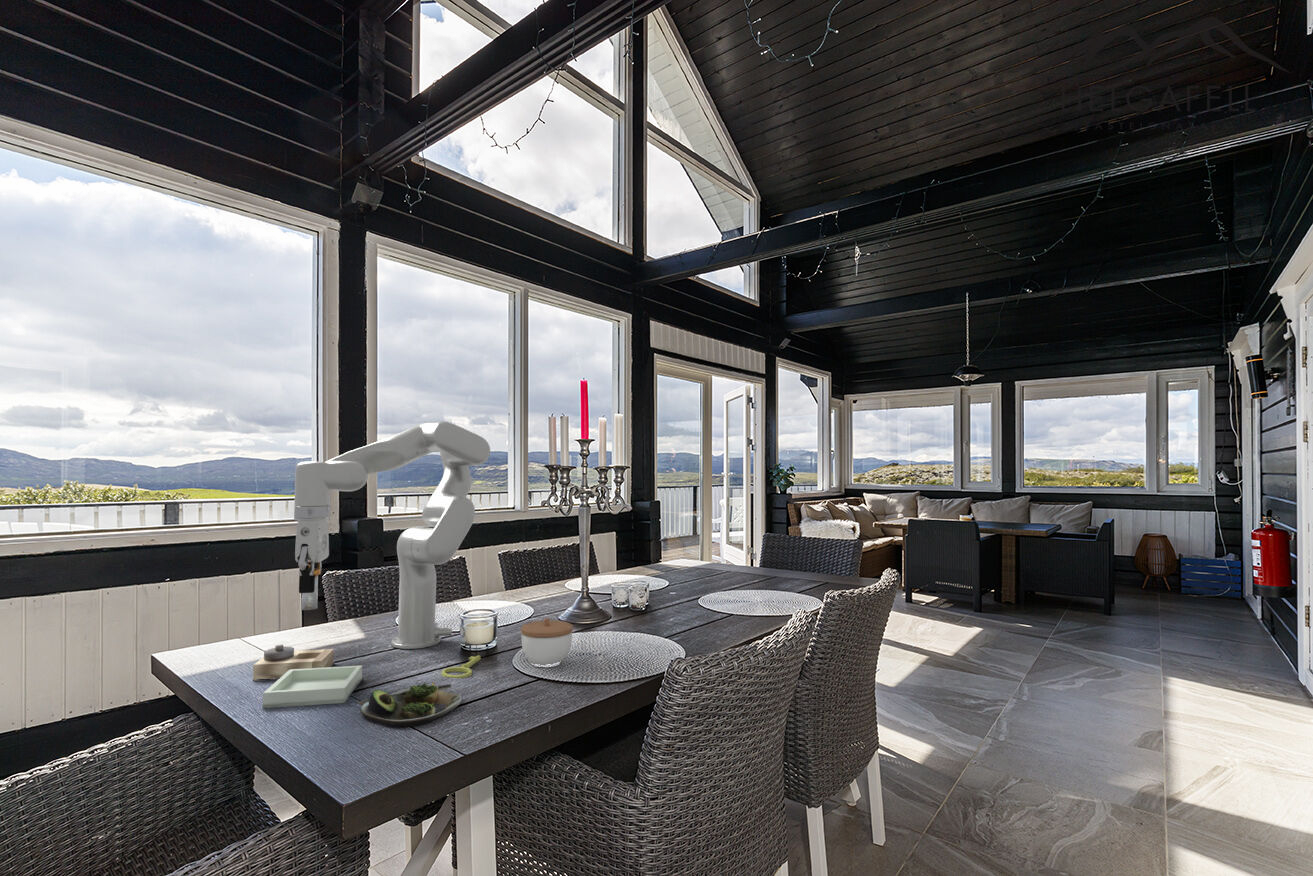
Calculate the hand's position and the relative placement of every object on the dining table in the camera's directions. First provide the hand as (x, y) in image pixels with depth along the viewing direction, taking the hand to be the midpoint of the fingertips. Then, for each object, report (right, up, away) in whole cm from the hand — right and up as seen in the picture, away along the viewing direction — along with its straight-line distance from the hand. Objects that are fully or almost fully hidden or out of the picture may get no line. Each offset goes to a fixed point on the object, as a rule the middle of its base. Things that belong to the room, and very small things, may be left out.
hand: (310, 589), depth 149 cm
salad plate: (+33, -19, -24) cm, 45 cm away
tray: (+10, -18, -15) cm, 26 cm away
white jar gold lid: (0, -4, 0) cm, 4 cm away
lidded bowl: (+55, -20, +6) cm, 59 cm away
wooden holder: (-3, -19, -2) cm, 19 cm away
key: (+36, -20, +1) cm, 41 cm away
